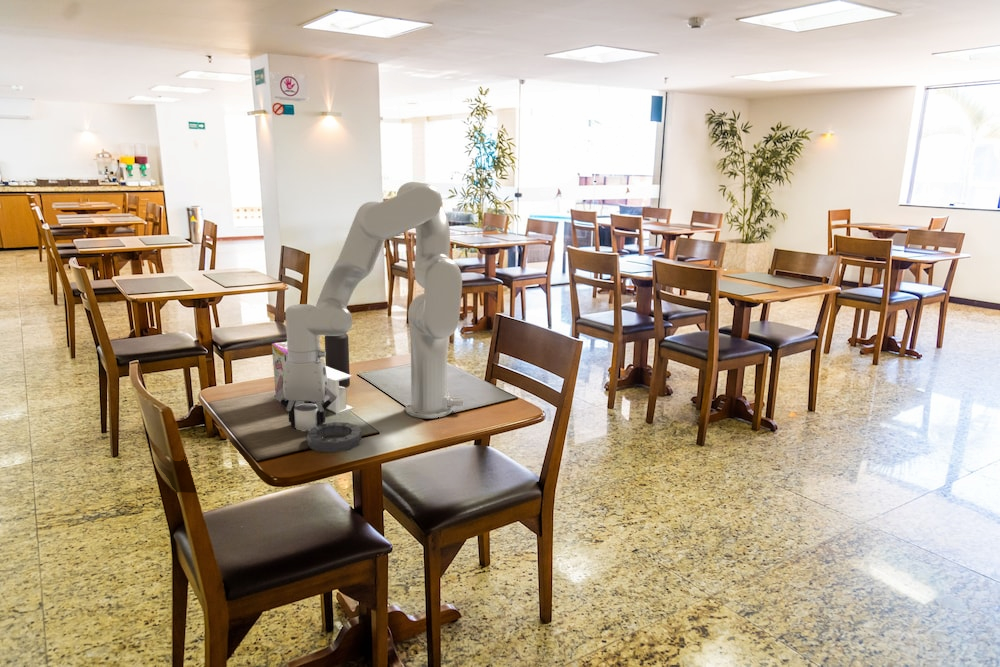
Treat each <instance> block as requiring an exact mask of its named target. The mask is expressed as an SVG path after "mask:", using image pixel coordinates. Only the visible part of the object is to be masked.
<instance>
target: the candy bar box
mask: <svg viewBox="0 0 1000 667" xmlns="http://www.w3.org/2000/svg"><path fill="white" fill-rule="evenodd" d="M271 351H272V352H271V353H272V362H273V363H272V364H273V375H274V376H273V377H274V389H275V390H274V391H275V394H276V393H277V392H278V391H279V390H280V389H281V388H282V387H283V381H284V369H285V362H286V360H287V359H288V350H287V341H280V342H273V343H271ZM283 396H284V393H283ZM275 400H276V402H278V403H279V404H280V405H281V406H282V407H283V408H284V406H283V405H282V404H281V402H279V401H278V400H277V399H276V398H275ZM301 404H306V401H296V403H295V407H296V406H298V405H301Z"/></svg>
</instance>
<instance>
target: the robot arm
mask: <svg viewBox="0 0 1000 667" xmlns="http://www.w3.org/2000/svg"><path fill="white" fill-rule="evenodd" d="M442 205H443V198H442V194H441V193H440V191H439V190H438V189H437V187H435V186H434V185H432V184H430V183H425V182H418V181H409V182H405V183H403V184H402V185H401V186H400V187H399V188H398V190H397V192H396V195H395V196H393V197H391V198H389V199H386V200H384V201H381V202H378V201H367V202H365V203H363V204H362V205H360V206H359V208H358V209H357V212H356V213H355V216H354V218H353V221H352V223H351V226H350V228H349V231H348V234H347V236H346V238H345V241H344V244H343V246H342V248H341V251H340V253H339V255H338V259H337V260H336V261H335V263H334V264H333V267H332V269H331V271H330V273H329V274H328V276H327V278H326V279H325V282H324V284H323V286H322V289H321V292H320V294H319V297H318V299H317V301H316V304H315V305H313V304H309V303H308V304H307V303H304V304H302V303H300V304H293V305H289V306H288V307H287V308H286V310H285V330H286V331H285V332H286V342H287V350H288V359H287V360H286V362H285V369H284V381H283V387H282V388H281V389H280V390H279V391H278V392H277V393H276V392H275V394H274V399H275V400H276V399H277V400H278V401H279V402H281V404H282V405H283V406H284V407H285V408H286V409H285V408H284V407H283V406H282V405H281V404H280V405H281V406H282V407H283V408H284V409H285V410H286V411H287V412H288V422H289V423H290V426H291V427H295V417H294V408H295V403H296V401H305V402H311V401H315V403H316V405H317V407H318V412H317V426H318V425H321V424H326V423H325V422H326V410H327V407H328V406H329V405H330V404H331V403H332V402H333V401H335V400H336V398H337V397H338V395H337V394H336V393H335V392H334V391H333V390H332V389H330V388H329V387H328V380H327V373H326V367H325V366H326V362H325V360H324V359H323V358H325V356H326V352H325V350H322V349H321V347H320V346H321V345H320V336H325V335H328V336H340V335H343V334H345V333H346V334H347V333H349V332H350V330H351V329H352V327H353V323H354V320H353V316H352V314H351V312H350V310H348V308H347V307H348V305H349V302H350V300H351V297H352V295H353V293H354V291H355V290H356V288H357V286H358V285H359V284H360V282H361V281H363V280H364V279H366V278H367V277H369V276H370V274H371V273H372V272H373V271H374V270H373V269H374V267H375V265H376V262H377V259H378V257H379V255H380V252H381V250H382V247H383V244H384V242H385V241H386V240H390V239H393V238H395V237H398V236H399V235H402V234H404V233H406V232H408V231H410V230H412V229H415V243H416V244H415V255H414V256H415V259H414V271H413V275H414V280H415V282H416V283H417V284H418V285H419V287H422V288H423V293H422V294H419V295H417V296H416V297H414V299H412V300H411V303H410V304H409V308H408V312H407V314H408V315H407V317H408V328H409V335H410V337H409V338H410V386H411V388H410V391H411V392H410V395H411V396H410V397H411V398H410V399H411V401H410V402H408V403H407V404H406V405H405V412H406V413H407V415H409V416H411V417H414V418H419V419H438V417H439V418H443V417H447V416H448V415H450V414H451V413H453V411H452V410H454V409H453V408H454V407H464V404H465V403H464V398H463V399H462V398H461V397H460V396H451V395H450V391H449V390H448V338H449V337H451V336H452V335H453V334H454V333H455V332H456V330H457V328H458V326H459V322H460V316H461V306H462V305H461V304H462V303H461V302H462V290H463V276H462V271H461V269H460V267H459V265H458V263H456V261H455V260H453V259H452V258H450V247H451V245H450V244H451V242H450V241H451V240H450V238H451V231H450V230H451V229H450V223H449V219H448V215H447V214H446V211H445V209H444V207H443V206H442ZM283 393H284V396H283ZM326 395H328V396H329V397H330V398H329V399H328V400H327V401H326V402H325V401H324V397H325V396H326ZM277 400H276V401H277ZM278 401H277V402H278ZM279 402H278V403H279ZM315 403H314V404H315Z"/></svg>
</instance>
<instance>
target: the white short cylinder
mask: <svg viewBox="0 0 1000 667" xmlns="http://www.w3.org/2000/svg"><path fill="white" fill-rule="evenodd" d="M317 412H318V407H317V405H316V404H315V403H305V404H301V405H298V406H296V407H295V408H294V417H295V426H294V429H295V428H297V429H300V430H309V429H311V428H314V427H316V426H317Z"/></svg>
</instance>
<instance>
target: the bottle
mask: <svg viewBox="0 0 1000 667" xmlns="http://www.w3.org/2000/svg"><path fill="white" fill-rule="evenodd" d="M349 345H350V344H349V335H348V334H347V333H345V334H343V335H340V336H328V335H324V351H325V352H326V356H325V357H324V358H325V360H324V361H325V366H327V367H330V368H333V369H335V370H338V371H341V372H343V373H346V374H349V375H351V373H350V372H351V371H350V351H349V350H350V348H349V347H350V346H349ZM350 380H351V378H348V379H344V380H340V381H339V386H342V387H346V388H349V386H350V385H351V382H350Z"/></svg>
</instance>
